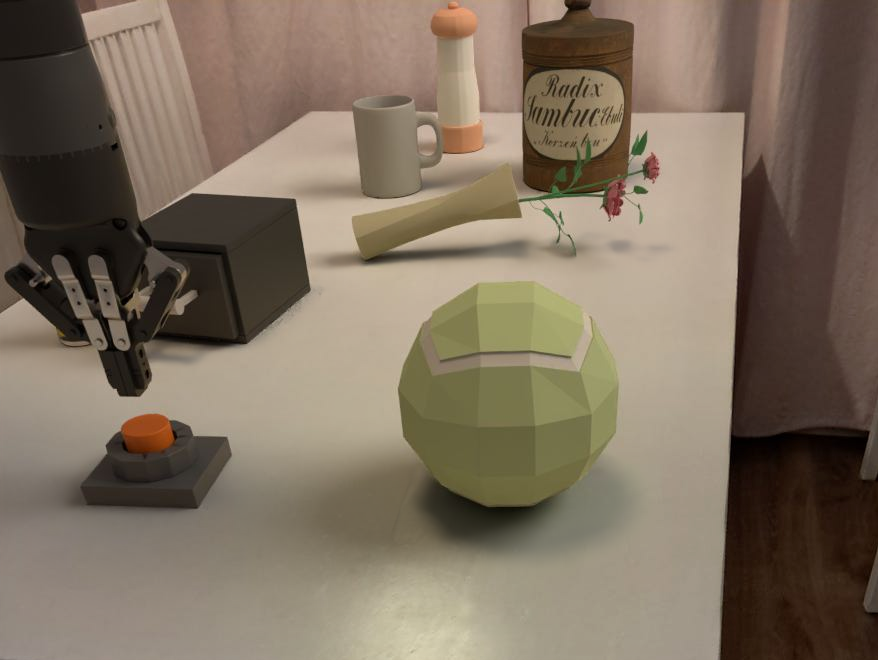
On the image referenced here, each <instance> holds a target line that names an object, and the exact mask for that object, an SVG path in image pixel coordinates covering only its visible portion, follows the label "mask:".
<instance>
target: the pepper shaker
mask: <svg viewBox="0 0 878 660" xmlns="http://www.w3.org/2000/svg"><path fill="white" fill-rule="evenodd" d="M477 17H478V16H476V14H475V12H474V11H472V10H470V9H468V8H466V7H459V3H458V2H457V1H455V0H454V1H450V2H448V3H447V7H445V8H441V9H439V10H438V11H436V12H435V13H434V14H433V15H432V17H431V20H430V26H429V27H430V30H431V33H432V34H433V35H434V36H436V52H437V69H438V71H437V85H436V99H435V100H436V108H437V109H436V111H437V118H438V120H439V122H440V125H441V128H442V133H443V153H448V154H464V153H472V152H476V151H479V150H481V149H483V148H484V129H483V127H484V126H483V121H482V119H481V117H480V116H481V114H480V111H481V110H480V109H481V107H480V104H481V103H480V92H479V91H480V90H479V85H478V80H477V79H478V78H477V75H476V67H475V50H474V49H475V47H474V34H476V32H477V29H478V26H479V22H478V18H477Z"/></svg>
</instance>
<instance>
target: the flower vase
mask: <svg viewBox="0 0 878 660" xmlns="http://www.w3.org/2000/svg"><path fill="white" fill-rule="evenodd" d="M647 143H648V129H646V130H645V132H644V133H643V135H642V136H641V138H640V134H639V133H638V134H637V136H636V138H635V141H634V143H633V145H632V147H631V150H630V152H629V157H628V159H629V162H628V168H627V171H628V172H629V167H630V164H631V162H632V161H633V160H634V157H636V156H642V155H643V153H644V152H645V151H646V146H647ZM576 150H577V167H575V166H574V179H575V181H576V182H575V181H574V179H573V181H574V182H575V184H576V183H577V180H578V178H579V177H580V176H581V174H582V172H581V170H580V168H581V167H582V166H583V165H584V164H586V163H587V162H589V161H590V159H591V144H590V141H589V138H588V139H587V146H586V156H585V160H584V164H583V165H582V166H581V157H580V153H579V150H578V147H577V146H576ZM650 154H651V155H649V156H648V157H647V158H645V160H644V162H643V163H641V166H642V169H640V170H637V171H633V172H630V173H628V174H626V175H623V176H620V175H617V177H616V178H613V179H609V180H606V181H602V182H599V183H595V184H591V185H587V186H582V187H578V188H573V189H569V190H565V191H560V192H559V190H558V188H557V187H556V186H552V185H553V184H554V183H555V182H556V181H557V180H559V181H566V173H565V172H566V166H565V167H563V168H562V169H560V170H559V171H558V173H557V174H556V176H555V178H556V179H557V180H556V181H555V182H554V183H553V184H552V185H551V187H552V192H549V191H550V189H551V187H550V189H549V191H547V192H548V193H547V194H543V195H539V196H536V197H525V198H519V196H518V192H517V187H516V183H515V181H514V180H515V179H514V175H513V170H512V165H511V163H510V162H507V163H505V164H503V165H502V166H500V167H498V168H497V169H495V170H493V171H492V172H490V173H489V174H487V175H486V176H483V177H482V178H480V179H479V180H477V181H476V182H474V183H472V184H470V185H468V186H466V187H463V188H460V189H459V190H455V191H453V192H450V193H447V194H445V195H440V196H437V197H433V198H429V199H426V200H421V201H418V202H414V203H410V204H409V203H408V204H406V205H401V206H396V207H393V208H388V209H387V208H386V209H384V210H379V211H373V212H368V213H363V214H357V215H353V216H351V225H352V230H353V235H354V239H355V241H356V245H357V247H358V250H359V252H360V255H361V256H362V257H361V258H363V259H364V260H365V261H368V260H370V259H373V258H375V257H377V256H379V255H382V254H385V253H386V252H389V251H391V250H394V249H396V248H398V247H400V246H403V245H406V244H408V243H411V242H414V241H417V240H420V239H422V238H425V237H427V236H430V235H434V234H436V233H439V232H441V231H444V230H448V229H450V228H453V227H457V226H460V225H464V224H468V223H473V222H479V221H488V220H489V221H490V220H505V219H506V220H508V219H523V215H522V209H521V204H520V203H523V202H529V204H530V206H531V207H532V208H534V209H535V210H538V207H537V208H536V207H534V205H532V203H531V202H534V201H535V202H536V201H540V202H541V203H542V204H543V205H544V206H545V207H543V209H541V208H539V210H540V211H542V212H543V213H544V214H545V215H547V216H548V217H550V218H551V219H552V220H553V222H554V223H555V225H556V227H557V228H558V236H557V239H556V242H555V246H557V245H558V244H559V243H560V240H561V232H562V233H563V235H565V236H567V237H568V238H569V240H570V241H571V244H572V247H573V250H574V251H573V252H574V255H575V256H577V249H576V246H575V242H574V241H573V238H572V237H571V235H570V234H568V233H567V234H566V233H565V232H564V230H563V229H562V226H564V225H565V222H564V220H563V213H562V211H561V210H560V211H559V213H558V215H557V214H556V213H554V212H553V211H552V210H551V209H550V208H549V207H548V205H547V204H546V203H545V202H543V201H544V200H553V199H562V198H581V197H583V198H584V197H585V198H587V197H588V198H602V204H601V206H600V207H599V210H601V209H603V210H604V212H605V214H606V215H607V217H608V221H607V222H608V223H609V222H611V221H612V219H614V218H615V217H620V215H621V213H622V209H621V207H623V205H624V203H625V202H624V200H623V199H622V198H625V199H626V200H627V201H628V202H630V203H631V204H632V205H634V206H635V207H636V208H637V209H638V210H639V219H638V221H639V222H638V224H639V226H640V225H641V224H642V223H643V220H644V215H643V212H642V209H641V205H640V203H638V204H635V203H634V202H633V201H631V200H630V199H629V198H628V197H626V195H631V194H634V193H635V194H636V195H646V194H647V193H649V190H648V189H646V188H645V187H643V186H641V185H634V186H633V191H632V192H628V193H627V192H626V190H625V189H626V187H627V184H626V183H625V181H624V182H623V178H624V177H627V178H628V177H631V176H634V175H638V174H640V173H642V175H643V176H644V177H643V181H645V180H646V179H648V180H650V181H652V185H653V184H655V183H656V180H657V178H658V177H659V175H660V167H659V166H660V162H659V158H658V157H657V156H656V154H655V153H654V152H653V151H650ZM631 155H632V157H631V159H630V156H631ZM621 178H622V179H621ZM620 179H621V182H620ZM611 181H612V182H611ZM607 182H608V183H609V182H611V183H609V185H608V187H606V186H604V191H603V194H600V193H566V192H570V191H575V190H579V189H584V188H588V187H592V186H596V185H600V184H604V183H607ZM618 182H619V183H618ZM572 183H573V182H572ZM572 183H571V184H572ZM573 184H574V183H573ZM573 184H572V185H573ZM572 185H570V186H569V187H568V188H570V187H571V186H572ZM568 188H567V189H568ZM542 200H543V201H542ZM555 216H556V217H555ZM611 216H612V217H611ZM557 218H558V219H559V220H560V223H559V222H558V220H557ZM561 225H562V226H561Z"/></svg>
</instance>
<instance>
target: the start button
mask: <svg viewBox="0 0 878 660" xmlns="http://www.w3.org/2000/svg"><path fill="white" fill-rule="evenodd" d="M169 420H170V419H169V418H168V417H167V416H165V415H164V414H160V413H144V414H140V415H137V416H134V417H131V418H129V419H128V420H125V422H124V423H123V424H122V425H121V427H120V431H121V433H122V436H123V439H124V441H125V444H126V447H127V450H128V452H130V453H132V454H148V453H152V452H157V451H161V450H163V449H165V448H167V447H169V446H171V445H172V444H173V443H174V436H173V433H172V429H171V426H170V423H169Z"/></svg>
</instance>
